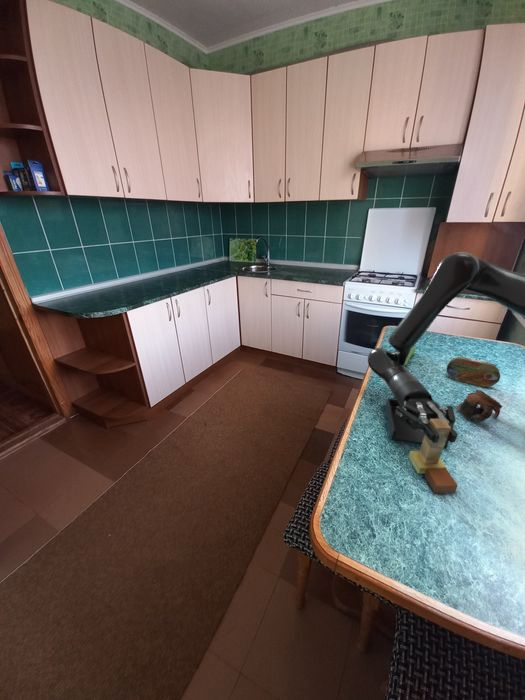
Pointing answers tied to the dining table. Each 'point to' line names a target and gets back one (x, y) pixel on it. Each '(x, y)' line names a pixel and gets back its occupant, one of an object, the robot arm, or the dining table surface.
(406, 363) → the edible corn
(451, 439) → the robot arm
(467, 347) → the dining table surface
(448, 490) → the brown square block
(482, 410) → the pottery mug
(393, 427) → the pan
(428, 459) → the pillar on square base
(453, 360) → the tin
